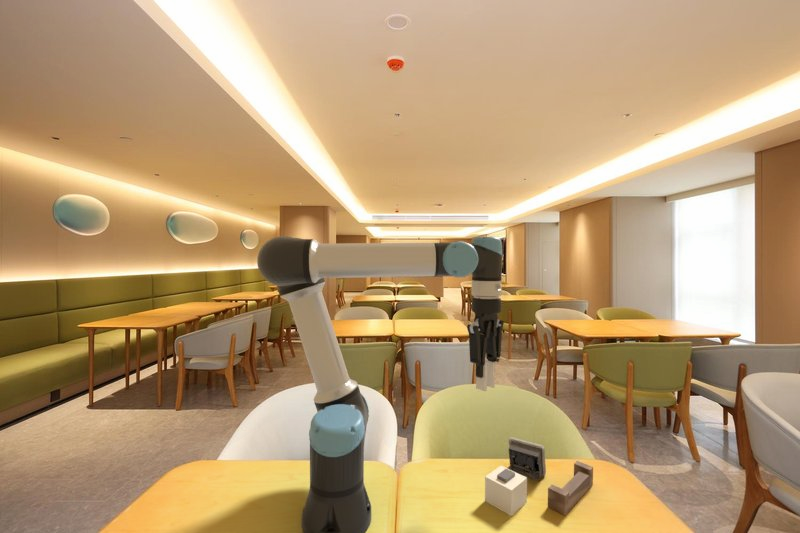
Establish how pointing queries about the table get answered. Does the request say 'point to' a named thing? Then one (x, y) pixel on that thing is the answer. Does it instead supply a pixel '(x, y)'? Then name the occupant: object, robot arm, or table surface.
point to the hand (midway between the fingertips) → (485, 387)
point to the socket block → (506, 490)
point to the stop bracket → (571, 489)
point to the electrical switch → (527, 458)
